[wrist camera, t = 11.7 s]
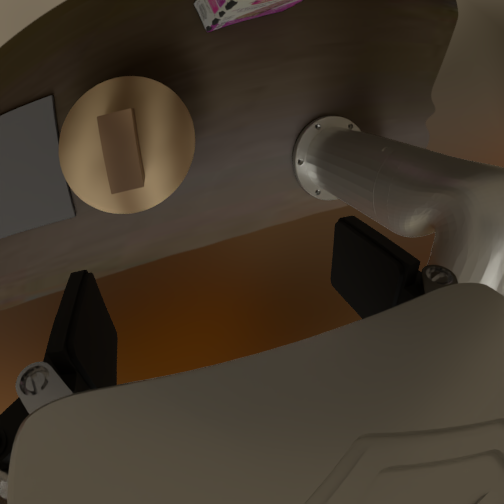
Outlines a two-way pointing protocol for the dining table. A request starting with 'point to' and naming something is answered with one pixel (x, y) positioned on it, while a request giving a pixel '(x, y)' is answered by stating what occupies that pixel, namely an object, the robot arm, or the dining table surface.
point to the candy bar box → (237, 10)
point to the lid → (126, 144)
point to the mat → (31, 169)
